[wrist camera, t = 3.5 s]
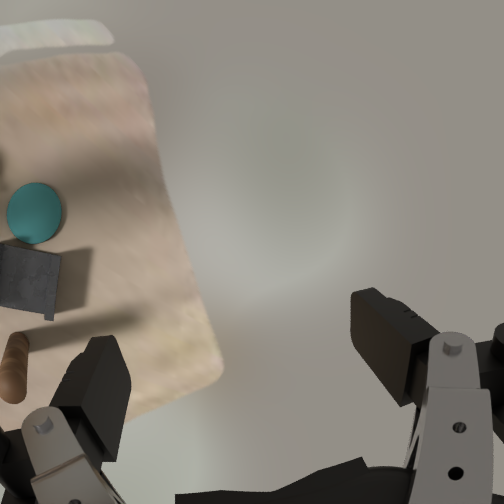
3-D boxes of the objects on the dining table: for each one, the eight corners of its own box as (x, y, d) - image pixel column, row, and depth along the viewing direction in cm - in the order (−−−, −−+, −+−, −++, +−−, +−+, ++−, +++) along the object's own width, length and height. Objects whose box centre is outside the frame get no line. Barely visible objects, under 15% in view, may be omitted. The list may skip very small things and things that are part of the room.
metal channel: (-11, 302, 39) (-17, 308, 34) (-4, 242, 40) (-9, 241, 35) (52, 314, 46) (53, 321, 41) (59, 255, 47) (61, 256, 42)
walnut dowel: (8, 352, 40) (-3, 401, 24) (8, 330, 41) (-6, 369, 25) (28, 356, 43) (27, 406, 27) (29, 333, 43) (26, 374, 27)
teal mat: (2, 237, 41) (1, 237, 40) (15, 178, 42) (15, 177, 41) (54, 248, 46) (55, 248, 46) (67, 190, 48) (67, 189, 47)
